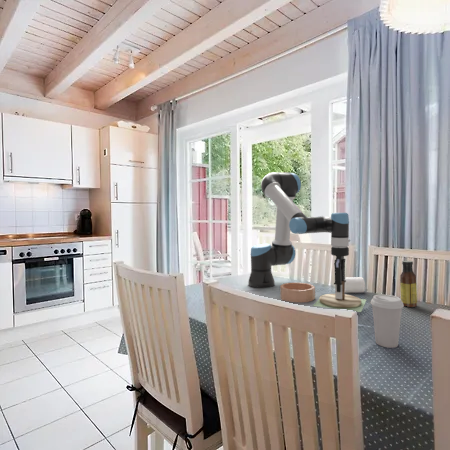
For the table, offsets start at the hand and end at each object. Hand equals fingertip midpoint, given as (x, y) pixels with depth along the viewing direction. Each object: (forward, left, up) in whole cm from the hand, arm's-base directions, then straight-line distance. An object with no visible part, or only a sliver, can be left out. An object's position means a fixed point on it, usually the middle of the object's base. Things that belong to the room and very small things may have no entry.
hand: (339, 297), depth 145 cm
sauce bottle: (-10, +27, -3) cm, 29 cm away
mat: (0, 0, -3) cm, 3 cm away
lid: (0, 0, -2) cm, 2 cm away
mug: (-24, +1, -3) cm, 24 cm away
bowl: (0, -20, -3) cm, 20 cm away
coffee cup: (+37, +21, -3) cm, 43 cm away
